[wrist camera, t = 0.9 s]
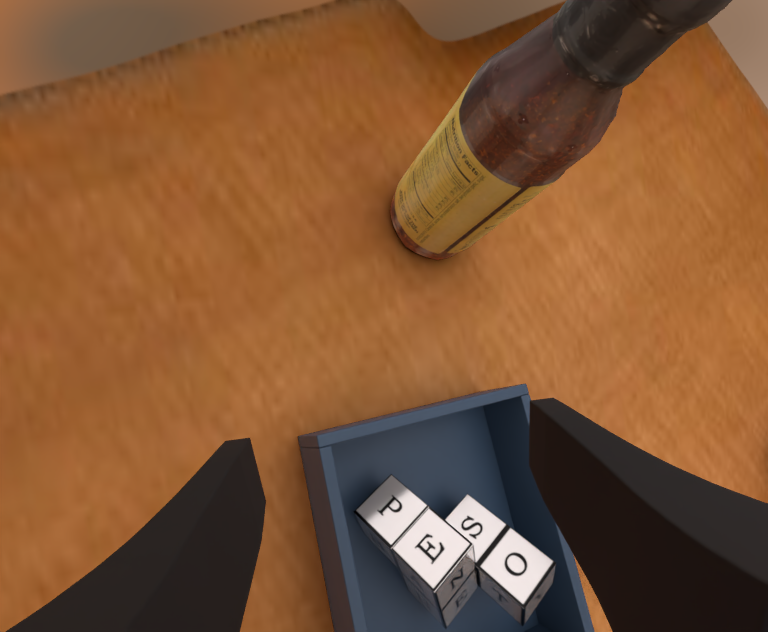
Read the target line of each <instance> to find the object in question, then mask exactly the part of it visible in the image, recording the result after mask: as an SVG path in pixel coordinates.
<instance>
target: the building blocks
mask: <svg viewBox="0 0 768 632" xmlns="http://www.w3.org/2000/svg"><path fill="white" fill-rule="evenodd" d="M354 514H355V516H356V518H357V520H358V522H359V524H360V526H361V529H362V531H363V533H364V535H365V536H366V537H367V538H368V539H369V540H370V541H371V542H372V543H373V544H374V545H375V546H376V547H377V548H378V549H379V550H380V551H381V552H382V553H383V554H384V555H385V556H386V557H387V558H388V559H389V560H390V561H391V562H392V563H393V564H394V565H395V566H396V567H397V568H398V569H399V571H400V572H401V575H402V577H403V580H404V582H405V585H406V587H407V589H408V591H409V592H410V593H411V594H412V595H413V596H414V597H415V598H416V599H417V600H418V601H419V602H420V603H421V604H422V605H423V606H424V607H425V608H426V609H427V610H428V611H429V612H430V613H431V615H432V616H433V617H434V618H435V619H436V620H437V621H438V622H439V623H440V624H441V625H442V626H443V627H444V628H445V629H446V628H447V627H448V626H449V625H450V623H451V622H452V621H453V619H454V618H455V617H456V615H457V614H458V613H459V612H460V610H461V609H462V608H463V606H464V605H465V604H466V602H467V601H468V600H469V598H470V597H471V596H472V595H473V593H474V592H475V591H476V589H477V588H478V587H480V588H481V589H482V590H483V591H485V592H486V593H487V594H488V595H489V596H490V597H491V598H492V599H493V600H494V601H495V602H497V603H498V604H499V605H500V606H501V607H502V608H503V609H504V610H505V611H506V612H507V613H509V614H510V615H511V616H512V617H513V618H514V619H515V620H516V621H517V622H518V623H519V624H521V625H522V626H524V624H525V623H526V621H527V620H528V619H529V617H530V616H531V614H532V613H533V611H534V610H535V608H536V607H537V605H538V604H539V602H540V601H541V600H542V598H543V597H544V595H545V594H546V592H547V591H548V589H549V588H550V586H551V585H552V583H553V580H554V574H555V568H556V562H555V561H553V560H552V559H551V558H550V557H548V556H547V555H546V554H544V553H543V552H542V551H541V550H539V549H538V548H537V547H535V546H534V545H533V544H532V543H530V542H529V541H528V540H526V539H525V538H524V537H523V536H521V535H520V534H519V533H518V532H516V531H515V530H514V529H512V528H511V527H510V526H509V525H507V524H506V523H505V522H503V521H502V520H501V519H500V518H498V517H497V516H496V515H494V514H493V513H492V512H491V511H489V510H488V509H487V508H486V507H484V506H483V505H482V504H480V503H479V502H478V501H477V500H475V499H474V498H473V497H471V496H470V495H469V494H468V493H467V494H466V496H465V497H464V498H463V499H462V500H461V501H460V503H459V504H458V505H457V506H456V507H455V508H454V509H453V511H452V512H451V513H450V514H449V515H448V516H447V517H446V519H443V518H442V517H441V516H440V515H439V514H438V513H436V512H435V511H434V510H433V509H432V508H431V507H429V506H428V505H427V504H426V503H425V502H424V501H422V500H421V499H420V498H419V497H418V496H417V495H415V494H414V493H413V492H412V491H411V490H410V489H408V488H407V487H406V486H405V485H404V484H403V483H401V482H400V481H399V480H398V479H397V478H396V477H394V476H393V475H392V474H391V475H390V476H389V477H388V478H387V479H386V480H385V481H384V482H383V483H382V484H381V485H380V486H379V487H378V488H377V489H376V490H375V491H374V492H373V493H372V494H371V495H370V496H369V497H368V498H367V499H366V500H365V501H364V502H363V503H362V504H361V505H360V506H359V507H358V508H357V509H356V510H355V511H354Z"/></svg>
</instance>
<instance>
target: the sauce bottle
mask: <svg viewBox="0 0 768 632" xmlns="http://www.w3.org/2000/svg"><path fill="white" fill-rule="evenodd" d="M731 1H732V0H567V1H566V2H565V3H564V5H563V6H562V8H561V9H560V10H559V12H557V13H556V14H555V15H553V16H552V17H550V18H549V19H547V20H546V21H544V22H543V23H542V24H540V25H539V26H537V27H536V28H534V29H533V30H531V31H530V32H529V33H527V34H526V35H524V36H523V37H521V38H520V39H518V40H517V41H516V42H514V43H513V44H511V45H510V46H508V47H507V48H505V49H504V50H502V51H500V52H498V53H496V54H495V55H493V56H492V57H491V58H489V59H488V60H487V61H486V62H485V63H484V64H483V65H482V67H481V68H480V69H479V70H478V71H477V72H476V74H475V75H474V77H473V78H472V80H471V81H470V83H469V84H468V85H467V86H466V88H465V89H464V91H463V93H462V94H461V95H460V97H459V98H458V100H457V101H456V103H455V104H454V106H453V107H452V108H451V110H450V111H449V113H448V114H447V116H446V117H445V118H444V120H443V121H442V123H441V124H440V125H439V127H438V128H437V130H436V131H435V132H434V134H433V135H432V137H431V138H430V139H429V141H428V142H427V144H426V145H425V146H424V148H423V149H422V150H421V152H420V153H419V155H418V156H417V158H416V159H415V160H414V162H413V163H412V164H411V166H410V167H409V169H408V170H407V171H406V173H405V174H404V176H403V177H402V179H401V180H400V182H399V184H398V186H397V189H396V193H395V195H394V197H393V200H392V204H391V208H390V214H391V218H392V222H393V226H394V228H395V230H396V232H397V235H398V237H400V239H401V241H402V243H403V244H404V245H405V246H406V247H407V248H409V249H410V250H412V251H414V252H415V253H417V254H420V255H422V256H424V257H429V258H431V259H435V260H439V259H446V258H448V257H452V256H453V255H455V254H456V253H458V252H460V251H463V250H465V249H467V248H469V247H470V246H472V245H473V244H474V243H476V242H477V241H478V240H479V239H481V238H482V237H483V236H485V235H486V234H487V233H489V232H490V231H491V230H493V229H494V228H495V227H496V226H498V225H499V224H500V223H502V222H503V221H504V220H505V219H507V218H508V217H509V216H511V215H512V214H513V213H514V212H516V211H517V210H518V209H520V208H521V207H522V206H524V205H525V204H526V203H528V202H529V201H530V200H531V199H533V198H534V197H535V196H537V195H538V194H539V193H541V192H542V191H543V190H544V189H546V188H547V187H548V186H550V185H551V184H552V183H554V182H555V181H556V180H557V179H559V178H560V177H561V176H562V175H563V174H564V172H565V171H566V169H568V168H569V167H571V166H572V165H573V164H575V163H576V162H577V161H578V160H580V159H581V158H583V157H584V156H585V155H587V154H588V153H589V152H590V151H591V150H592V149H593V148H594V147H595V146H596V145H597V144H598V143H599V142H600V140H601V138H602V137H603V135H604V133H605V132H606V130H607V128H608V127H609V125H610V123H611V122H612V121H613V119H614V117H615V116H616V112H617V108H618V104H619V101H620V97H621V95H622V89H623V88H624V87H625V86H626V85H628V84H630V83H632V82H633V81H634V80H636V79H637V78H638V77H639V76H640V75H641V74H642V73H643V71H644V69H645V68H646V67H648V66H649V65H650V64H651V63H652V62H653V61H654V60H655V59H656V58H658V57H659V56H660V55H661V54H663V53H664V52H665V51H666V50H667V49H668V48H669V47H670V46H671V45H672V44H673V43H674V42H675V41H677V40H678V39H679V38H680V37H681V36H682V35H683V34H685V33H686V32H687V31H690V30H692V29H695V28H697V27H699V26H700V25H702V24H705V23H707V22H708V21H709V20H710V19H712V18H713V17H714V16H715V15H717V14H718V13H719V12H720V11H721V10H723V9H724V8H725V7H726V6H727V5H728V4H729V3H730V2H731Z"/></svg>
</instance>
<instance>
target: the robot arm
mask: <svg viewBox="0 0 768 632" xmlns="http://www.w3.org/2000/svg"><path fill="white" fill-rule="evenodd" d="M529 467H530V469H531V472H532V474H533V477H534V479H535V482H536V484H537V487H538V489H539V492H540V494H541V496H542V499H543V501H544V503H545V505H546V506H547V508H548V510H549V512H550V514H551V515H552V517H553V519H554V521H555V523H556V524H557V526H558V528H559V530H560V531H561V533H562V535H563V537H564V538H565V540H566V542H567V544H568V545H569V547H570V549H571V551H572V552H573V554H574V556H575V558H576V560H577V561H578V563H579V565H580V567H581V568H582V570H583V572H584V574H585V575H586V577H587V579H588V581H589V582H590V584H591V586H592V588H593V590H594V592H595V594H596V596H597V598H598V600H599V602H600V604H601V606H602V609H603V611H604V613H605V615H606V618H607V620H608V622H609V624H610V626H611V629H612V631H613V632H768V504H767V503H764V502H761V501H759V500H756V499H753V498H751V497H748V496H745V495H742V494H740V493H737V492H734V491H731V490H729V489H726V488H724V487H721V486H719V485H716V484H714V483H711V482H709V481H706V480H704V479H702V478H700V477H697V476H695V475H693V474H691V473H688V472H686V471H684V470H682V469H679V468H677V467H675V466H673V465H671V464H669V463H667V462H665V461H663V460H661V459H659V458H657V457H655V456H653V455H651V454H649V453H647V452H645V451H643V450H641V449H640V448H638V447H636V446H634V445H632V444H630V443H629V442H627V441H625V440H623V439H622V438H620V437H618V436H616V435H615V434H613V433H611V432H609V431H608V430H606V429H604V428H603V427H601V426H599V425H598V424H596V423H594V422H593V421H591V420H590V419H588V418H586V417H585V416H583V415H581V414H580V413H578V412H577V411H575V410H573V409H572V408H570V407H568V406H567V405H565V404H563V403H562V402H560V401H558V400H556V399H554V398H548V399H540V400H533V401H530V421H529ZM265 504H266V500H265V496H264V492H263V488H262V484H261V480H260V476H259V472H258V468H257V464H256V460H255V456H254V452H253V448H252V444H251V440H250V438H245V439H237V440H229V441H225V442H224V443H223V444H222V445H221V446H220V447H219V449H218V450H217V451H216V452H215V453H214V454H213V455H212V456H211V457H210V458H209V459H208V461H207V462H206V463H205V464H204V465H203V466H202V467H201V468H200V469H199V471H198V472H197V473H196V474H195V475H194V476H193V477H192V478H191V479H190V480H189V481H188V482H187V484H186V485H185V486H184V487H183V488H182V489H181V490H180V491H179V492H178V493H177V494H176V495H175V496H174V497H173V498H172V499H171V500H170V501H169V502H168V503H167V504H166V505H165V506H164V507H163V508H162V509H161V510H160V511H159V512H158V513H157V514H156V515H155V516H154V517H153V518H152V519H151V520H150V521H149V522H148V523H147V524H146V525H145V526H144V527H143V528H142V529H141V530H140V531H138V532H137V533H136V534H135V535H134V536H133V537H132V538H131V539H130V540H128V541H127V542H126V543H125V544H124V545H123V546H122V547H120V548H119V549H118V550H117V551H116V552H114V553H113V554H112V555H111V556H110V557H108V558H107V559H106V560H105V561H104V562H102V563H101V564H100V565H99V566H97V567H96V568H95V569H94V570H92V571H91V572H90V573H88V574H87V575H86V576H84V577H83V578H82V579H80V580H79V581H78V582H76V583H75V584H74V585H72V586H71V587H70V588H68V589H67V590H65V591H64V592H63V593H61V594H60V595H59V596H57V597H56V598H55V599H53V600H52V601H51V602H49V603H48V604H46V605H45V606H43V607H42V608H41V609H39V610H38V611H36V612H35V613H33V614H32V615H30V616H29V617H27V618H26V619H24V620H23V621H21V622H20V623H18V624H17V625H15V626H14V627H12V628H10V629H9V630H7V631H6V632H240V628H241V624H242V620H243V615H244V611H245V607H246V603H247V599H248V595H249V591H250V587H251V583H252V578H253V574H254V570H255V566H256V562H257V557H258V553H259V549H260V544H261V540H262V532H263V524H264V514H265Z"/></svg>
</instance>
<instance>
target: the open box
mask: <svg viewBox="0 0 768 632" xmlns="http://www.w3.org/2000/svg"><path fill="white" fill-rule="evenodd" d="M530 401H531V399H530V395H529V392H528V389H527V385H526V384H521V385H515V386H509V387H504V388H498V389H493V390H487V391H482V392H478V393H474V394H469V395H465V396H461V397H457V398H453V399H449V400H445V401H441V402H437V403H433V404H428V405H424V406H420V407H416V408H412V409H408V410H404V411H400V412H396V413H391V414H387V415H383V416H379V417H375V418H371V419H367V420H363V421H359V422H354V423H350V424H346V425H342V426H338V427H334V428H330V429H326V430H322V431H318V432H313V433H309V434H305V435H301V436H298V440H299V446H300V451H301V456H302V462H303V467H304V472H305V478H306V483H307V488H308V494H309V499H310V504H311V510H312V515H313V520H314V525H315V531H316V536H317V541H318V547H319V552H320V557H321V563H322V568H323V573H324V579H325V584H326V589H327V595H328V600H329V605H330V611H331V616H332V621H333V626H334V632H594V628H593V625H592V621H591V617H590V614H589V610H588V606H587V603H586V599H585V596H584V592H583V588H582V585H581V581H580V577H579V574H578V570H577V566H576V563H575V559H574V556H573V552H572V551H571V549H570V547H569V545H568V544H567V542H566V540H565V538H564V537H563V535H562V533H561V531H560V530H559V528H558V526H557V524H556V523H555V521H554V519H553V517H552V515H551V514H550V512H549V510H548V508H547V506H546V505H545V503H544V501H543V499H542V496H541V494H540V492H539V489H538V487H537V484H536V482H535V479H534V477H533V474H532V472H531V469H530V467H529V421H530ZM391 474H392V475H393V476H394V477H396V478H397V479H398V480H399V481H400V482H401V483H403V484H404V485H405V486H406V487H407V488H408V489H410V490H411V491H412V492H413V493H414V494H415V495H417V496H418V497H419V498H420V499H421V500H422V501H424V502H425V503H426V504H427V505H428V506H429V507H431V508H432V509H433V510H434V511H435V512H436V513H438V514H439V515H440V516H441V517H442V518H443V519H446V517H447V516H448V515H449V514H450V513H451V512H452V511H453V509H454V508H455V507H456V506H457V505H458V504H459V503H460V501H461V500H462V499H463V498H464V497H465V496H466V494H467V493H468V494H469V495H470V496H471V497H473V498H474V499H475V500H477V501H478V502H479V503H480V504H482V505H483V506H484V507H486V508H487V509H488V510H489V511H491V512H492V513H493V514H494V515H496V516H497V517H498V518H500V519H501V520H502V521H503V522H505V523H506V524H507V525H509V526H510V527H511V528H512V529H514V530H515V531H516V532H518V533H519V534H520V535H521V536H523V537H524V538H525V539H526V540H528V541H529V542H530V543H532V544H533V545H534V546H535V547H537V548H538V549H539V550H541V551H542V552H543V553H544V554H546V555H547V556H548V557H550V558H551V559H552V560H553V561H555V562H556V568H555V574H554V580H553V583H552V585H551V586H550V588H549V589H548V591H547V592H546V594H545V595H544V597H543V598H542V600H541V601H540V602H539V604H538V605H537V607H536V608H535V610H534V611H533V613H532V614H531V616H530V617H529V619H528V620H527V621H526V623H525V624H524V626H522V625H521V624H519V623H518V622H517V621H516V620H515V619H514V618H513V617H512V616H511V615H510V614H509V613H507V612H506V611H505V610H504V609H503V608H502V607H501V606H500V605H499V604H498V603H497V602H495V601H494V600H493V599H492V598H491V597H490V596H489V595H488V594H487V593H486V592H485V591H483V590H482V589H481V588H480V587H478V588H477V589H476V591H475V592H474V593H473V595H472V596H471V597H470V598H469V600H468V601H467V602H466V604H465V605H464V606H463V608H462V609H461V610H460V612H459V613H458V614H457V615H456V617H455V618H454V619H453V621H452V622H451V623H450V625H449V626H448V627H447V628H446V629H445V628H444V627H443V626H442V625H441V624H440V623H439V622H438V621H437V620H436V619H435V618H434V617H433V616H432V615H431V613H430V612H429V611H428V610H427V609H426V608H425V607H424V606H423V605H422V604H421V603H420V602H419V601H418V600H417V599H416V598H415V597H414V596H413V595H412V594H411V593H410V592H409V591H408V589H407V587H406V585H405V582H404V580H403V577H402V575H401V572H400V571H399V569H398V568H397V567H396V566H395V565H394V564H393V563H392V562H391V561H390V560H389V559H388V558H387V557H386V556H385V555H384V554H383V553H382V552H381V551H380V550H379V549H378V548H377V547H376V546H375V545H374V544H373V543H372V542H371V541H370V540H369V539H368V538H367V537H366V536H365V535H364V533H363V531H362V529H361V526H360V524H359V522H358V520H357V518H356V516H355V514H354V511H355V510H356V509H357V508H358V507H359V506H360V505H361V504H362V503H363V502H364V501H365V500H366V499H367V498H368V497H369V496H370V495H371V494H372V493H373V492H374V491H375V490H376V489H377V488H378V487H379V486H380V485H381V484H382V483H383V482H384V481H385V480H386V479H387V478H388V477H389V476H390V475H391Z"/></svg>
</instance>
